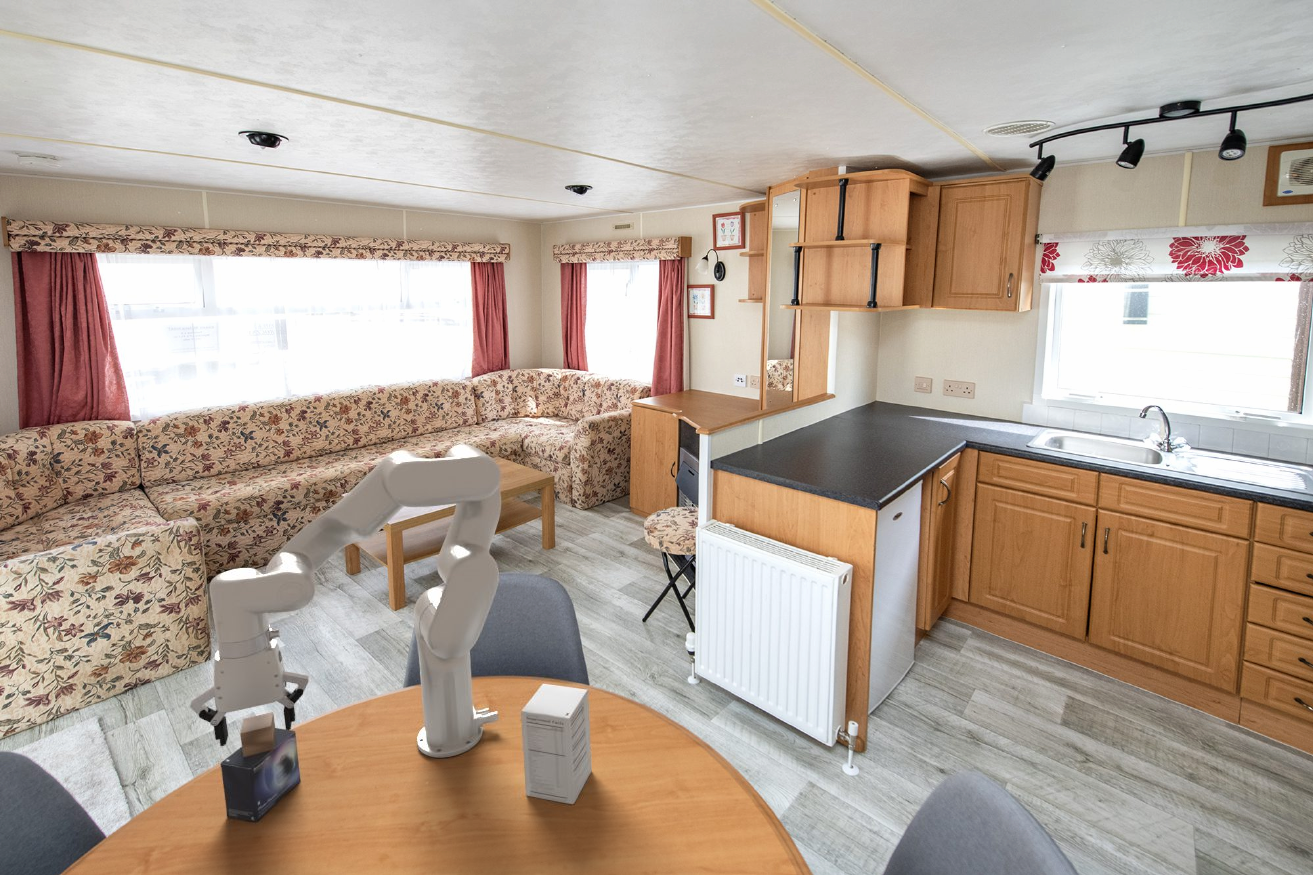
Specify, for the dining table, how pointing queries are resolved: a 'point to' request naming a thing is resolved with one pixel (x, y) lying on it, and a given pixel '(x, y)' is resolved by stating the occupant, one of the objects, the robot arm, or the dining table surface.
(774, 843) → the dining table surface
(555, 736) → the supplement box
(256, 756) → the small box
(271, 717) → the brown wooden cube
